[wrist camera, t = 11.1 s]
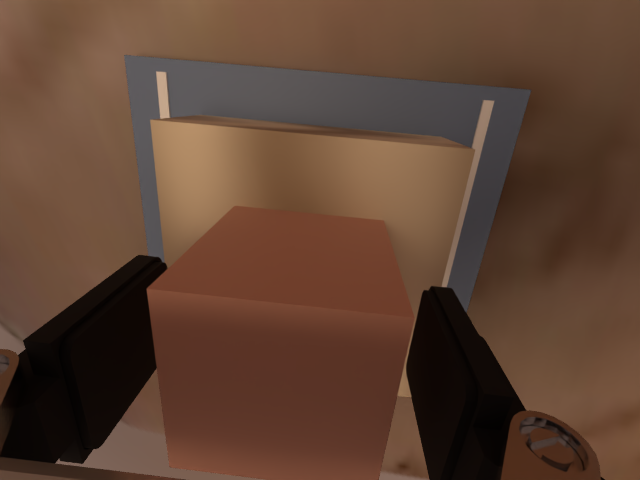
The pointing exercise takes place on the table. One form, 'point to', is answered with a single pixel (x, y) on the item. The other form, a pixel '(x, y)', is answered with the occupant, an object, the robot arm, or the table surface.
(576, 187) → the table surface
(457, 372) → the robot arm
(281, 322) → the terracotta block
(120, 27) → the table surface
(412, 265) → the maple base block
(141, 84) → the board
